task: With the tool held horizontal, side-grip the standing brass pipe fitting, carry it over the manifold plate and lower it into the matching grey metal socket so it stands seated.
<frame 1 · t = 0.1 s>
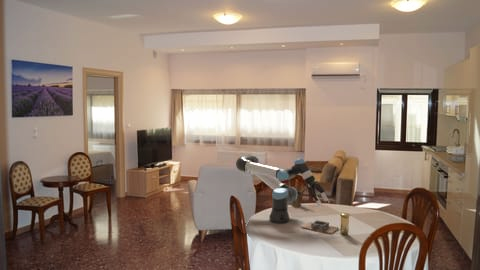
hand: (323, 202, 289), 15 cm above the table, tool tilted 35°, fingers open, 13 cm apart
brass fitting: (344, 234, 265), on the table
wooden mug: (297, 205, 340), on the table
manifold plate: (320, 228, 277), on the table
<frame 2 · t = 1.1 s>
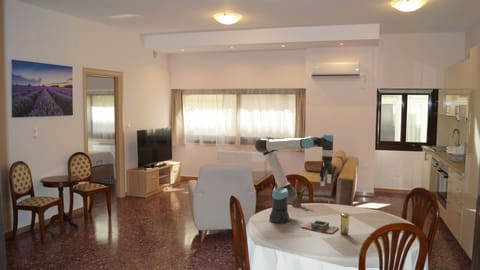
hand: (325, 184, 288), 29 cm above the table, tool pointing down, fingers open, 13 cm apart
nothing on the table moved.
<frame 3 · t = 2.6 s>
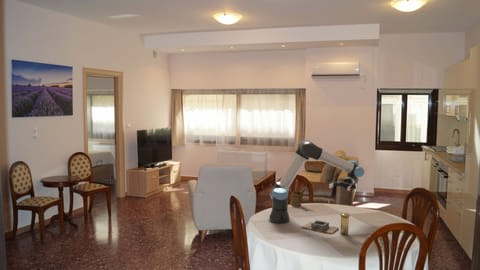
hand: (338, 187, 281), 28 cm above the table, tool horizontal, fingers open, 13 cm apart
nothing on the table moved.
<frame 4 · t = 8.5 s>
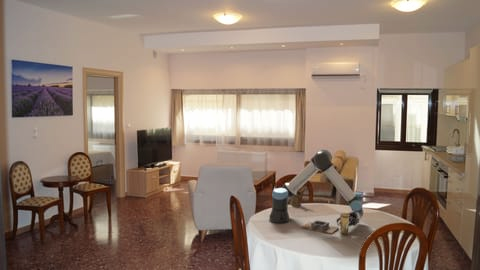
hand: (342, 225, 260), 8 cm above the table, tool horizontal, fingers closed on brass fitting, 5 cm apart
brass fitting: (344, 234, 265), on the table, touching gripper
everything else where it was.
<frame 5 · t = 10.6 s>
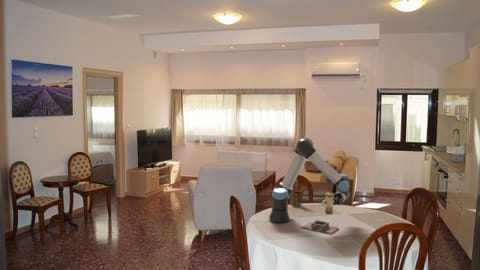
hand: (326, 204, 267), 20 cm above the table, tool horizontal, fingers closed on brass fitting, 5 cm apart
brass fitting: (328, 213, 272), point 12 cm above the table, touching gripper
everything else where it was.
when the fingers open (10 cm above the table, at t = 13.2 s): brass fitting drops 1 cm, resting on manifold plate.
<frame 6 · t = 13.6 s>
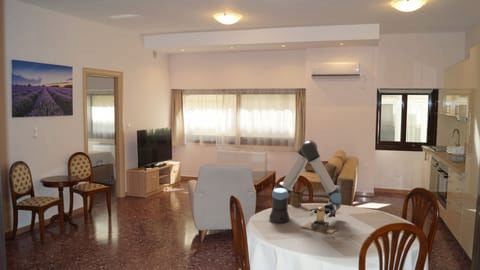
hand: (318, 215, 273), 10 cm above the table, tool horizontal, fingers open, 11 cm apart
brass fitting: (320, 227, 277), point 1 cm above the table, touching manifold plate
everything else where it was.
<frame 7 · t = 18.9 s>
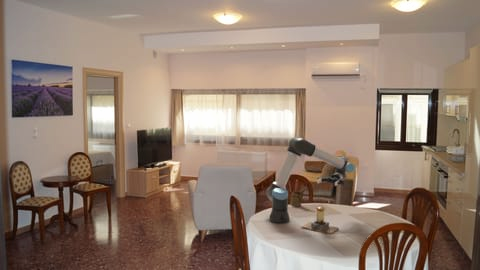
hand: (326, 182, 288), 30 cm above the table, tool horizontal, fingers open, 13 cm apart
nothing on the table moved.
at the end: brass fitting 0.1 cm off-centre on the manifold plate, point 1.0 cm above the manifold plate's base; brass fitting tilted 0°; the gripper is holding nothing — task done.
